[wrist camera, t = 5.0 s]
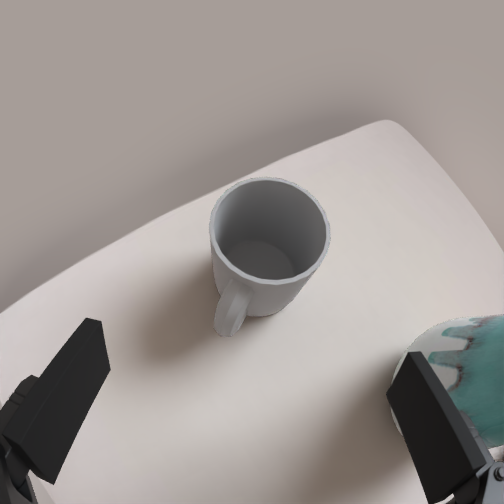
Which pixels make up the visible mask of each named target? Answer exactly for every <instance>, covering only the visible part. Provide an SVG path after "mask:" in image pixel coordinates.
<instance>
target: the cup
mask: <svg viewBox="0 0 504 504" xmlns="http://www.w3.org/2000/svg"><path fill="white" fill-rule="evenodd" d="M209 232H210V242H211V253H212V262H213V272H214V278H215V285H216V287H217V290H218V292H219V294H220V296H221V298H220V300H219V302H218V305H217V308H216V311H215V317H214V329H215V330H216V332H217V333H218V334H219V335H220V336H225V337H231V336H232V335H233V334H234V333H236V332H237V331H238V330H239V328H240V327H241V325H242V323H243V321H244V319H245V318H246V316H247V315H248V316H257V317H262V316H267V315H272V314H274V313H276V312H278V311H280V310H282V309H283V308H284V307H285V306H287V305H288V304H289V303H290V302H291V301H292V300H293V299H294V297H295V296H296V295H297V294H298V292H299V291H300V290H301V289H302V287H303V286H304V285H305V284H306V282H307V281H308V280H309V279H310V277H311V276H312V275H313V273H314V272H315V271H316V270H317V268H318V267H319V266H320V264H321V263H322V261H323V259H324V258H325V256H326V254H327V252H328V248H329V244H330V240H331V237H330V224H329V222H328V219H327V216H326V213H325V211H324V210H323V208H322V207H321V205H320V203H319V202H318V200H316V199H315V198H314V197H313V196H312V195H311V194H310V193H309V192H308V191H307V190H305V189H303V188H302V187H300V186H298V185H297V184H295V183H292V182H290V181H287V180H284V179H280V178H272V177H259V178H251V179H248V180H245V181H242V182H239V183H237V184H235V185H234V186H232V187H231V188H229V189H228V190H226V191H225V192H224V193H223V195H222V196H221V197H220V198H219V199H218V200H217V202H216V204H215V206H214V208H213V210H212V212H211V217H210V223H209Z"/></svg>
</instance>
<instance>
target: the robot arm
mask: <svg viewBox="0 0 504 504" xmlns="http://www.w3.org/2000/svg"><path fill="white" fill-rule="evenodd" d="M110 370H111V369H110V364H109V359H108V355H107V350H106V345H105V339H104V334H103V328H102V322H101V321H98V320H94V319H90V318H85V320H84V321H83V322H82V323H81V324H80V326H79V327H78V328H77V329H76V331H75V332H74V333H73V334H72V336H71V337H70V338H69V339H68V341H67V342H66V343H65V344H64V346H63V347H62V348H61V349H60V351H59V352H58V353H57V355H56V356H55V357H54V358H53V360H52V361H51V362H50V364H49V365H48V366H47V368H46V369H45V370H44V372H43V373H42V374H41V376H40V377H39V378H38V377H35V376H33V375H31V376H29V377H27V378H26V379H24V380H23V381H21V383H20V384H19V385H18V387H17V388H16V389H15V392H14V393H12V395H11V396H10V398H9V400H7V402H6V403H5V405H4V406H3V407H2V409H1V410H0V504H38V502H37V499H36V496H35V493H34V490H33V487H32V484H31V481H30V478H29V476H28V472H29V470H31V471H32V472H33V473H34V474H35V475H36V476H37V477H39V478H41V479H43V480H45V481H47V482H49V483H51V484H53V485H54V483H55V481H56V479H57V476H58V474H59V472H60V470H61V467H62V465H63V463H64V461H65V459H66V456H67V454H68V452H69V450H70V448H71V446H72V444H73V442H74V439H75V437H76V435H77V433H78V431H79V429H80V427H81V425H82V423H83V421H84V419H85V417H86V415H87V413H88V411H89V409H90V407H91V405H92V403H93V402H94V400H95V398H96V396H97V394H98V392H99V390H100V388H101V386H102V384H103V383H104V381H105V379H106V377H107V375H108V373H109V372H110ZM386 396H387V398H388V401H389V403H390V405H391V408H392V410H393V412H394V415H395V417H396V420H397V422H398V424H399V427H400V429H401V432H402V434H403V437H404V439H405V442H406V444H407V447H408V449H409V452H410V454H411V457H412V460H413V462H414V465H415V467H416V470H417V473H418V476H419V478H420V481H421V484H422V487H423V489H424V492H425V495H426V498H427V501H428V504H435V503H438V502H440V501H443V500H445V499H446V498H447V497H448V496H450V495H451V494H452V493H453V495H454V498H452V499H451V500H450V501H448V502H447V503H446V504H504V462H499V461H498V462H495V461H494V460H493V458H492V456H491V454H490V452H489V450H488V449H487V447H486V445H485V443H484V441H483V439H482V438H481V436H479V432H478V431H477V429H475V425H474V424H473V422H472V420H471V418H470V417H469V416H468V415H467V414H465V413H464V412H463V411H462V410H461V411H458V409H457V407H456V406H455V404H454V402H453V401H452V399H451V397H450V396H449V394H448V392H447V391H446V389H445V388H444V386H443V384H442V383H441V381H440V380H439V378H438V376H437V375H436V373H435V372H434V370H433V369H432V367H431V366H430V364H429V363H428V361H427V360H426V358H425V357H424V355H423V354H422V352H421V351H416V352H408V353H407V355H406V357H405V359H404V361H403V363H402V365H401V367H400V369H399V371H398V373H397V375H396V377H395V378H394V380H393V382H392V384H391V386H390V388H389V390H388V391H387V393H386Z"/></svg>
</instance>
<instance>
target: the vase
mask: <svg viewBox="0 0 504 504" xmlns="http://www.w3.org/2000/svg"><path fill="white" fill-rule="evenodd" d="M416 351H421V352H422V354H423V355H424V357H425V358H426V360H427V361H428V363H429V364H430V366H431V367H432V369H433V370H434V372H435V373H436V375H437V376H438V378H439V380H440V381H441V383H442V384H443V386H444V388H445V389H446V391H447V392H448V394H449V396H450V397H451V399H452V401H453V402H454V404H455V406H456V407H457V409H458V411H461V410H462V411H463V412H464V413H465V414H467V415H468V416H469V417H470V418H471V420H472V422H473V424H474V425H475V429H477V431H478V432H479V436H481V438H482V439H483V441H484V443H485V445H486V447H487V449H491V448H494V447H498V446H501V445H504V314H501V315H490V316H474V317H461V318H456V319H451V320H448V321H445V322H442V323H440V324H437V325H435V326H433V327H432V328H430V329H428V330H427V331H425V332H424V333H423V334H421V335H420V336H419V337H418V338H417V339H415V341H414V342H413V343H412V344H411V345H410V346H409V347H408V348H407V350H406V351H405V353H404V354H403V355H402V357H401V359H400V361H399V363H398V365H397V367H396V370H395V372H394V375H393V379H392V382H393V380H394V378H395V377H396V375H397V373H398V371H399V369H400V367H401V365H402V363H403V361H404V359H405V357H406V355H407V353H408V352H416ZM391 384H392V383H391ZM390 408H391V405H390ZM391 413H392V417H393V420H394V423H395V425H396V427H397V429H398V431H399V432H400V434H401V435H402V436H403V434H402V432H401V429H400V427H399V424H398V422H397V420H396V417H395V415H394V412H393V410H392V408H391Z"/></svg>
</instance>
